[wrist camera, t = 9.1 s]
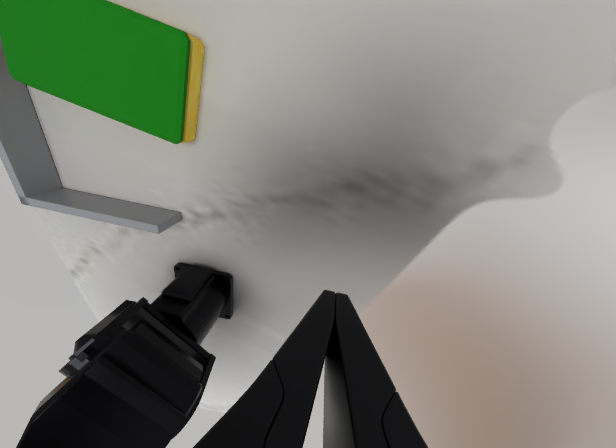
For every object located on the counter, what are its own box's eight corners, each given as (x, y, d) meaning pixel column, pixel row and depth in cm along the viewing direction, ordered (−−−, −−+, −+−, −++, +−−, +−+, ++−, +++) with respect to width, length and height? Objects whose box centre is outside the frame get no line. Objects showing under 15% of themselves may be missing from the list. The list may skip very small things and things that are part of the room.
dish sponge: (197, 142, 19) (178, 145, 17) (46, 81, 19) (8, 78, 17) (208, 43, 16) (186, 32, 14) (26, -30, 16) (-24, -53, 14)
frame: (181, 219, 23) (158, 233, 20) (58, 193, 24) (21, 203, 21) (135, -155, 12) (76, -228, 10) (-76, -167, 14) (-181, -236, 11)
